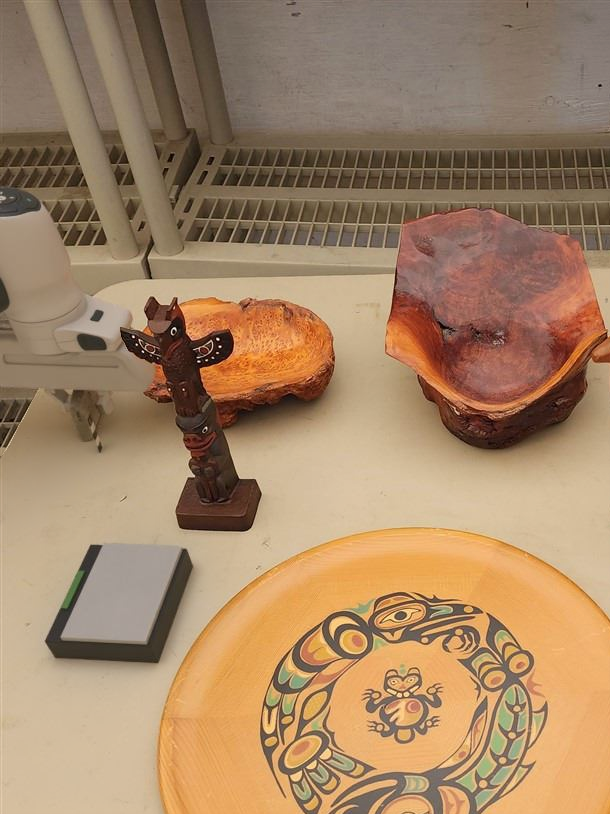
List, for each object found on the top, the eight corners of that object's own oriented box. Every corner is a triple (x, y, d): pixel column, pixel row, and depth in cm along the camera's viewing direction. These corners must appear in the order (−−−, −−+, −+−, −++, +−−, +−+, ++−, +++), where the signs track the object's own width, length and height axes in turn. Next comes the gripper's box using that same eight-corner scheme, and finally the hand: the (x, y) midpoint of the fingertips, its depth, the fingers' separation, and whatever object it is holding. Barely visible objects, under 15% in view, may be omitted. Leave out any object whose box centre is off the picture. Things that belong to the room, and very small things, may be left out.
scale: (54, 657, 90) (41, 638, 87) (98, 561, 98) (88, 540, 96) (158, 663, 89) (148, 643, 86) (193, 565, 98) (185, 544, 95)
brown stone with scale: (88, 419, 107) (108, 360, 115) (56, 419, 107) (79, 360, 115) (100, 453, 111) (119, 394, 119) (70, 454, 111) (91, 394, 119)
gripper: (-44, 334, 102) (2, 423, 112) (126, 340, 101) (157, 429, 111) (-20, 304, 106) (22, 392, 116) (143, 309, 105) (171, 397, 115)
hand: (89, 410), depth 114 cm, fingers closed on brown stone with scale, 3 cm apart
